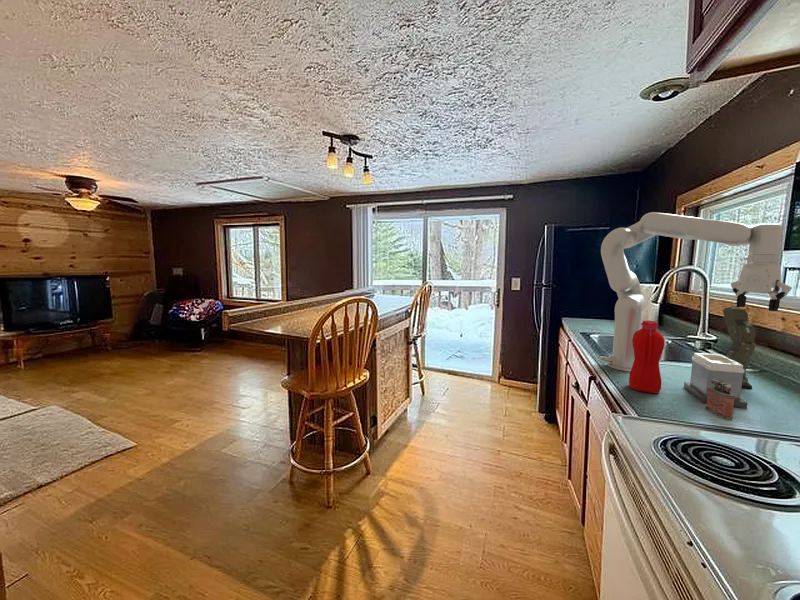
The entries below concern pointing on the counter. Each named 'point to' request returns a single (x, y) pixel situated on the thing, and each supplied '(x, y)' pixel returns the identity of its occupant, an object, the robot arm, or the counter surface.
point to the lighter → (720, 400)
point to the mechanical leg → (740, 338)
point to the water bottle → (647, 358)
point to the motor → (715, 376)
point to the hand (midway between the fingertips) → (756, 308)
